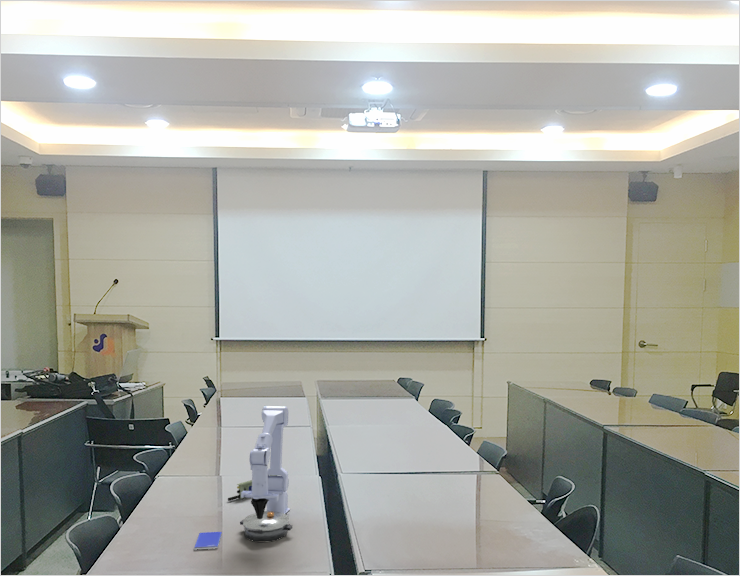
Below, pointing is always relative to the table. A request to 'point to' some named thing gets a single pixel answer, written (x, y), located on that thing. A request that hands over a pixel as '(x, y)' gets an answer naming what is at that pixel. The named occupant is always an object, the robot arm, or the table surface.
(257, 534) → the cooker pot
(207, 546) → the hard drive
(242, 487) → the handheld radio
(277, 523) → the lid
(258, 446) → the robot arm
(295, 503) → the table surface
